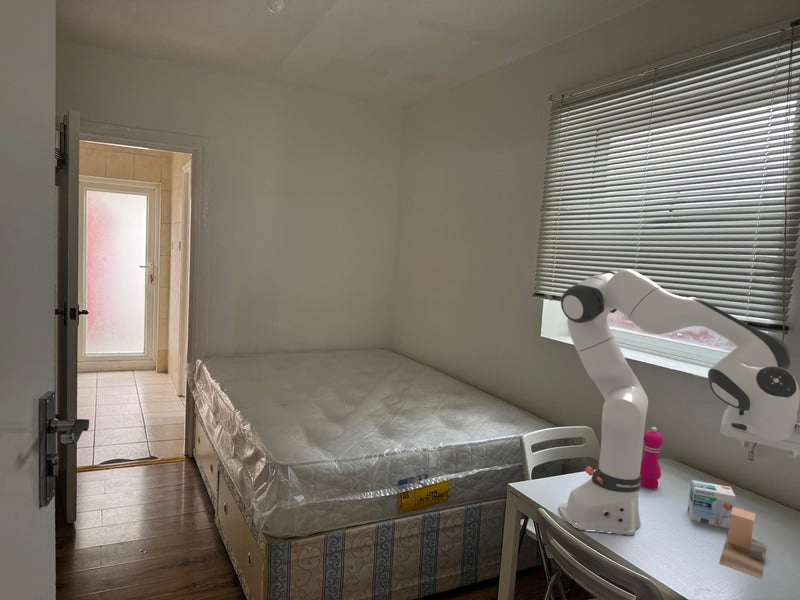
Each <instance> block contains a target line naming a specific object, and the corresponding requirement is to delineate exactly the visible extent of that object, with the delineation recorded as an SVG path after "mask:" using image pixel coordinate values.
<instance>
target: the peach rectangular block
mask: <svg viewBox="0 0 800 600" xmlns="http://www.w3.org/2000/svg"><path fill="white" fill-rule="evenodd" d="M755 521H756V513H754V512H751V511H747V510H745V509H741V508H738V507H735V506H734V507H733V509H732V512H731V517H730V525H729V528H728V533H727V535H728V539H727V542H729V543H732V544H735V545H738V546H741V547H744V548H747V549H750V547H751V541H752V539H753V535H754V528H755Z"/></svg>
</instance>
